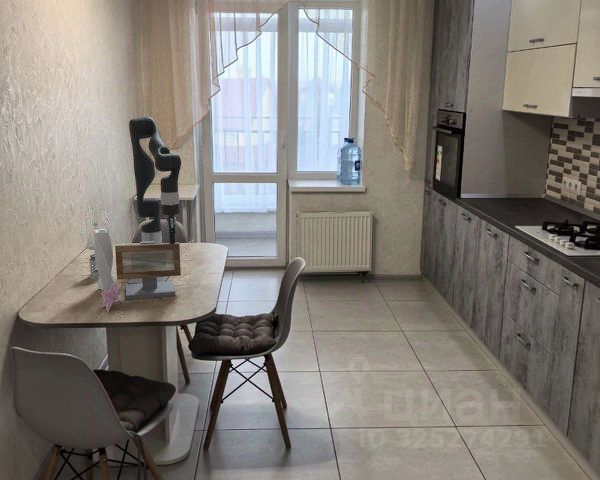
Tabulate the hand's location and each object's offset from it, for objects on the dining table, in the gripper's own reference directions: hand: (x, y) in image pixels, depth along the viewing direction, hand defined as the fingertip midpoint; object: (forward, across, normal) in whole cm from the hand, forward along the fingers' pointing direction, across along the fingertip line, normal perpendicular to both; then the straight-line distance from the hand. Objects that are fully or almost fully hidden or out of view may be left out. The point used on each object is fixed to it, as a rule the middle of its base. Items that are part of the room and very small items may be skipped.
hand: (172, 243), depth 268 cm
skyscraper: (+21, -12, -28) cm, 37 cm away
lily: (+21, +14, -26) cm, 36 cm away
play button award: (+22, -23, -9) cm, 33 cm away
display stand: (+21, -2, -10) cm, 24 cm away
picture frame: (+14, 0, -10) cm, 17 cm away
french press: (+21, -34, -31) cm, 50 cm away
